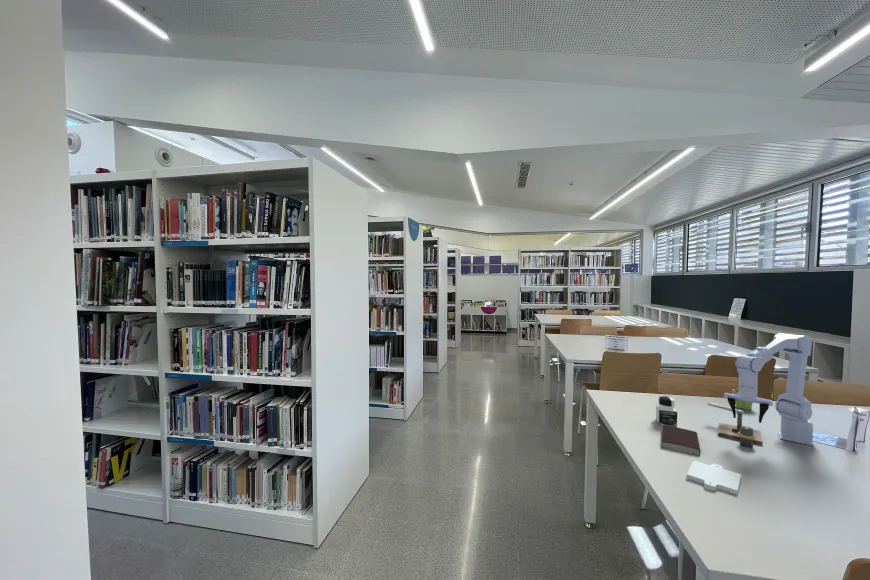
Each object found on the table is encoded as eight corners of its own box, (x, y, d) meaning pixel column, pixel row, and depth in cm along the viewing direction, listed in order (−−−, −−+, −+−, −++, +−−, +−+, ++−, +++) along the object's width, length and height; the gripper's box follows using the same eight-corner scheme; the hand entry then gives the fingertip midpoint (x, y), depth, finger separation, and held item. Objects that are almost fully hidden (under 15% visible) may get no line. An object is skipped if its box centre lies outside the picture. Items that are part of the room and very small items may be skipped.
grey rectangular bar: (744, 413, 158) (744, 410, 158) (742, 414, 156) (742, 411, 156) (709, 404, 169) (709, 401, 169) (706, 405, 168) (707, 402, 168)
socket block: (760, 434, 154) (761, 417, 154) (762, 445, 144) (763, 426, 144) (719, 425, 163) (719, 409, 163) (718, 435, 153) (718, 418, 153)
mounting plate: (694, 463, 130) (694, 458, 130) (741, 477, 121) (741, 471, 121) (684, 482, 117) (684, 477, 117) (736, 500, 108) (736, 493, 108)
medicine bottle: (658, 424, 164) (659, 398, 164) (655, 419, 171) (656, 394, 171) (677, 427, 162) (677, 400, 161) (673, 421, 168) (673, 396, 168)
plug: (754, 444, 144) (754, 427, 144) (755, 449, 140) (756, 431, 140) (737, 441, 148) (737, 424, 147) (738, 445, 143) (738, 428, 143)
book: (697, 438, 151) (697, 430, 151) (700, 457, 135) (700, 448, 135) (662, 431, 158) (662, 424, 158) (661, 448, 142) (661, 440, 142)
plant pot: (727, 404, 193) (727, 388, 193) (746, 405, 192) (747, 389, 191) (739, 410, 184) (740, 393, 183) (760, 411, 182) (760, 394, 182)
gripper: (724, 384, 145) (723, 417, 145) (773, 391, 136) (772, 427, 136) (724, 381, 150) (724, 413, 151) (772, 387, 141) (771, 422, 141)
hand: (747, 419), depth 144 cm, fingers open, 7 cm apart
